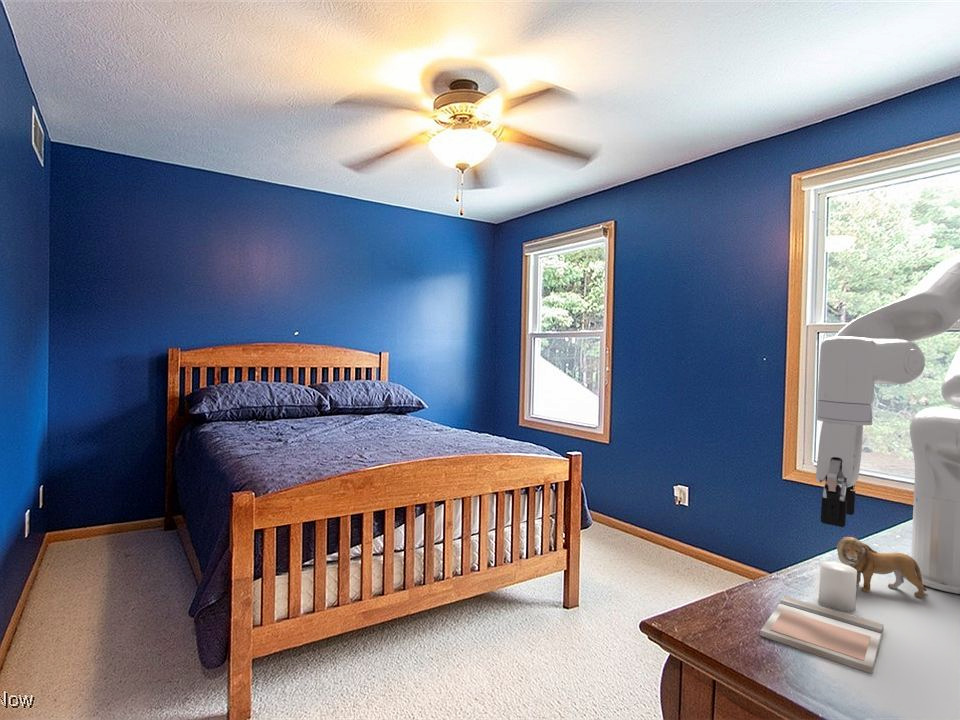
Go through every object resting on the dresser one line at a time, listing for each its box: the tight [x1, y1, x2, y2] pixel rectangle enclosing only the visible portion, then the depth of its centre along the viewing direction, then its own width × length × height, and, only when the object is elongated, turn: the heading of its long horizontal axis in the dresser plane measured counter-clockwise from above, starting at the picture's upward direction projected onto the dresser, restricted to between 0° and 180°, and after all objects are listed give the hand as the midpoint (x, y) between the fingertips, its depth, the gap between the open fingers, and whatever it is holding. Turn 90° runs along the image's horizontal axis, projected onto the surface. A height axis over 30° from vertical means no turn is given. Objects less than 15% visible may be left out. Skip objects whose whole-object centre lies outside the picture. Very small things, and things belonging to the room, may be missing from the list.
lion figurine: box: [836, 536, 928, 599], centre depth 94 cm, size 15×5×9 cm, turn 86°
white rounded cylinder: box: [818, 560, 857, 612], centre depth 88 cm, size 5×5×6 cm
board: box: [759, 595, 885, 674], centre depth 79 cm, size 15×13×1 cm
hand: (837, 518), depth 87 cm, fingers open, 9 cm apart
